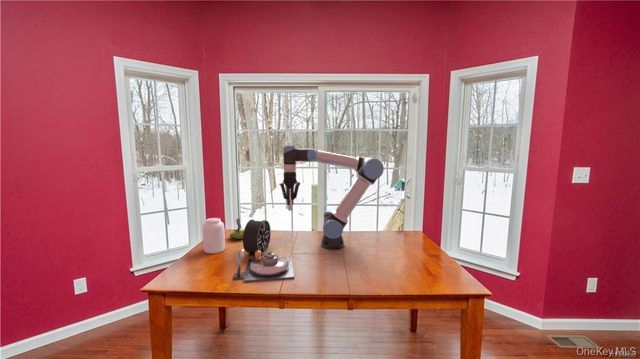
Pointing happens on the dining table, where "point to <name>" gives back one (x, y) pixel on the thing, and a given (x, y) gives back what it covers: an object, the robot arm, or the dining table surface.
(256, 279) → the turntable base
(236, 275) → the dial stand
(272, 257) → the cover
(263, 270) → the turntable
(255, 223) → the wheel rim
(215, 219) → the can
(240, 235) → the figurine
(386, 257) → the dining table surface
